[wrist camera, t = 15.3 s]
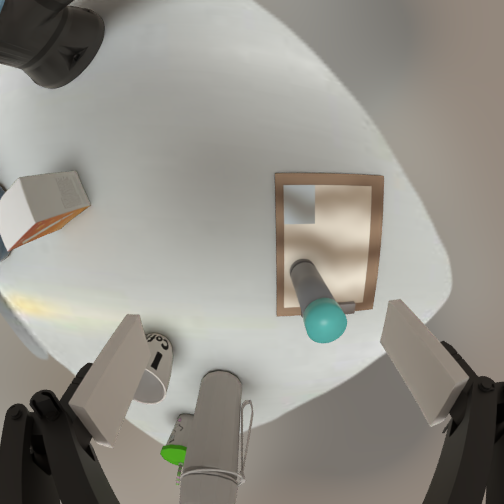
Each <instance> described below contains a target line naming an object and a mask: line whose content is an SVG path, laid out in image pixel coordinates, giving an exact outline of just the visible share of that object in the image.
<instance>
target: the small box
mask: <svg viewBox="0 0 504 504" xmlns="http://www.w3.org/2000/svg"><path fill="white" fill-rule="evenodd" d="M90 205H91V204H90V202H89V200H88V198H87V195H86V193H85V191H84V188H83V186H82V184H81V181H80V179H79V177H78V174H77V172H76V171H68V172H58V173H49V174H40V175H33V176H25V177H19V178H18V179H17V180H16V181H15V182H14V183H13V184H12V186H11V187H10V188H9V189H8V190H7V191H6V192H5V194H4V195H3V196H2V198H1V199H0V235H1V237H2V240H3V242H4V245H5V247H6V249H7V251H8V252H9V251H11V250H13V249H15V248H17V247H19V246H21V245H23V244H26V243H28V242H30V241H33V240H35V239H37V238H40V237H42V236H44V235H47V234H49V233H52V232H54V231H57V230H59V229H61V228H62V227H63V226H64V225H65V224H67V223H68V222H69V221H70V220H72V219H73V218H74V217H76V216H77V215H78V214H80V213H81V212H82V211H84V210H85V209H86V208H88V207H89V206H90Z"/></svg>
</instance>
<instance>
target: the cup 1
mask: <svg viewBox="0 0 504 504" xmlns="http://www.w3.org/2000/svg"><path fill="white" fill-rule="evenodd" d="M146 340H147V343H148V346H149V349H150V353H151V357H150V359H149V362H148V364H147V366H146V369H145V371H144V373H143V375H142V378H141V380H140V382H139V385H138V387H137V389H136V392H135V394H134V396H133V400H135V401H137V402H140V403H144V404H157V403H160V402H161V401H163V400H164V398H165V396H166V392H167V389H168V385H169V381H170V377H171V370H172V362H173V355H172V345H171V343H170V342H169V340H168V339H167V338H166V337H164V336H163V335H160V334H157V333H151V334H148V335H146Z"/></svg>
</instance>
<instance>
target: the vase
mask: <svg viewBox="0 0 504 504" xmlns="http://www.w3.org/2000/svg"><path fill="white" fill-rule="evenodd" d="M4 194H5V191H4V190H3V188H2V187H1V186H0V199H1V198H2V196H3V195H4ZM9 253H10V251H9V252H8V251H7V249H6V247H5V245H4V242H3V240H2V237H1V235H0V262H1V261H3V260H5V259H6V258H7V256H8V255H9Z"/></svg>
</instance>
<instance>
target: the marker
mask: <svg viewBox="0 0 504 504" xmlns="http://www.w3.org/2000/svg"><path fill="white" fill-rule="evenodd" d="M290 277H291V280H292V283H293V286H294V289H295V292H296V295H297V298H298V302H299V305H300V308H301V311H302V314H303V321H304V324H305V327H306V331H307V334H308V336H309V337H310V338H311V339H312V340H313V341H315V342H318V343H329V342H332V341H334V340H336V339H338V338H339V337H340V336H341V335H342V334H343V333H344V331H345V329H346V326H347V319H346V316H345V314H344V312H343V311H342V309H341V307H340V306H339V304H338V303H337V302H336V301H335V299H334V297H333V296H332V294H331V292H330V290H329V289H328V287H327V285H326V284H325V282H324V280H323V279H322V277H321V275H320V274H319V272H318V270H317V269H316V267H315V265H314V264H313V263H312V262H311V261H310V260H308V259H299V260H297V261H295V262H294V263H293V264H292V265H291V267H290Z"/></svg>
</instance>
